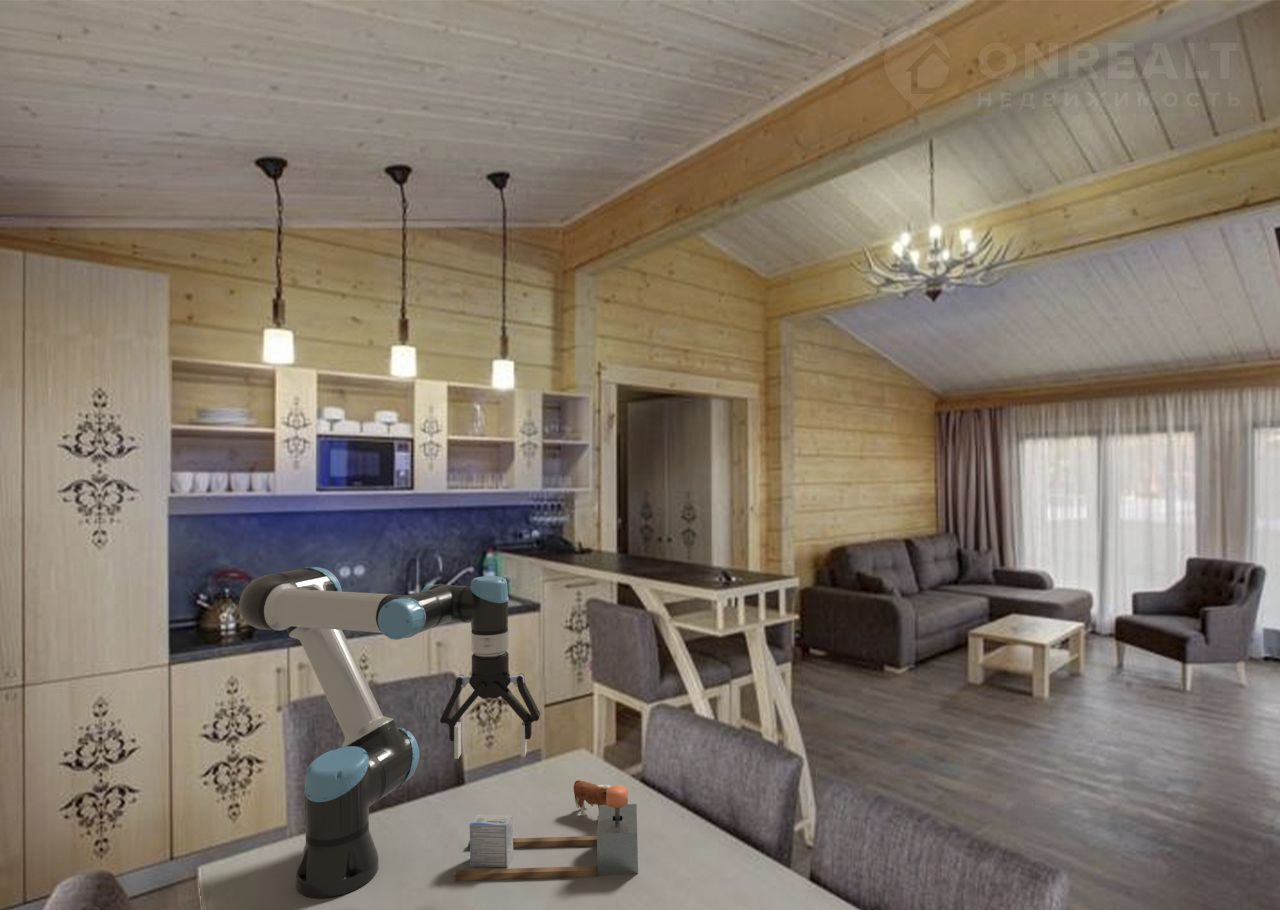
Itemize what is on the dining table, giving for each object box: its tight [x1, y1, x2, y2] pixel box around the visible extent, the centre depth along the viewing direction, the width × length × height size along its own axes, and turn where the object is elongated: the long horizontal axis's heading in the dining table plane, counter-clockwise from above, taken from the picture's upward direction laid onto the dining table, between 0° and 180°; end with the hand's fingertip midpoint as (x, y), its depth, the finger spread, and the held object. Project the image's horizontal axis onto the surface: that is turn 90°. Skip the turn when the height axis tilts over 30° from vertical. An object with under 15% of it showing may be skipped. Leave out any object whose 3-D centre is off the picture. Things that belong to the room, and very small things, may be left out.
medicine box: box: [469, 813, 514, 868], centre depth 144 cm, size 8×4×9 cm, turn 84°
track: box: [454, 835, 599, 882], centre depth 144 cm, size 28×13×1 cm, turn 91°
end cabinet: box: [596, 803, 639, 876], centre depth 144 cm, size 8×12×8 cm, turn 1°
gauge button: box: [606, 785, 629, 821], centre depth 145 cm, size 4×4×6 cm
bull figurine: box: [573, 779, 612, 818], centre depth 162 cm, size 4×13×8 cm, turn 53°
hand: (490, 755), depth 145 cm, fingers open, 13 cm apart
